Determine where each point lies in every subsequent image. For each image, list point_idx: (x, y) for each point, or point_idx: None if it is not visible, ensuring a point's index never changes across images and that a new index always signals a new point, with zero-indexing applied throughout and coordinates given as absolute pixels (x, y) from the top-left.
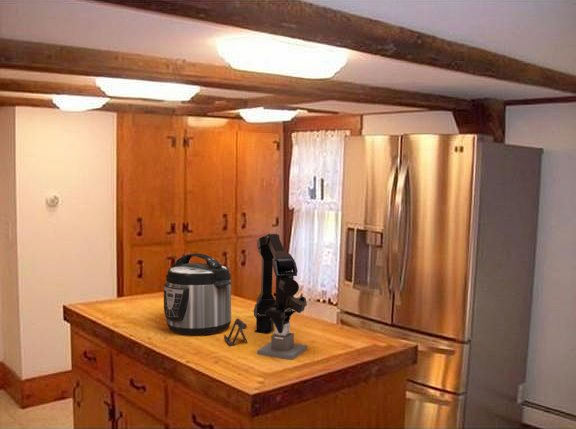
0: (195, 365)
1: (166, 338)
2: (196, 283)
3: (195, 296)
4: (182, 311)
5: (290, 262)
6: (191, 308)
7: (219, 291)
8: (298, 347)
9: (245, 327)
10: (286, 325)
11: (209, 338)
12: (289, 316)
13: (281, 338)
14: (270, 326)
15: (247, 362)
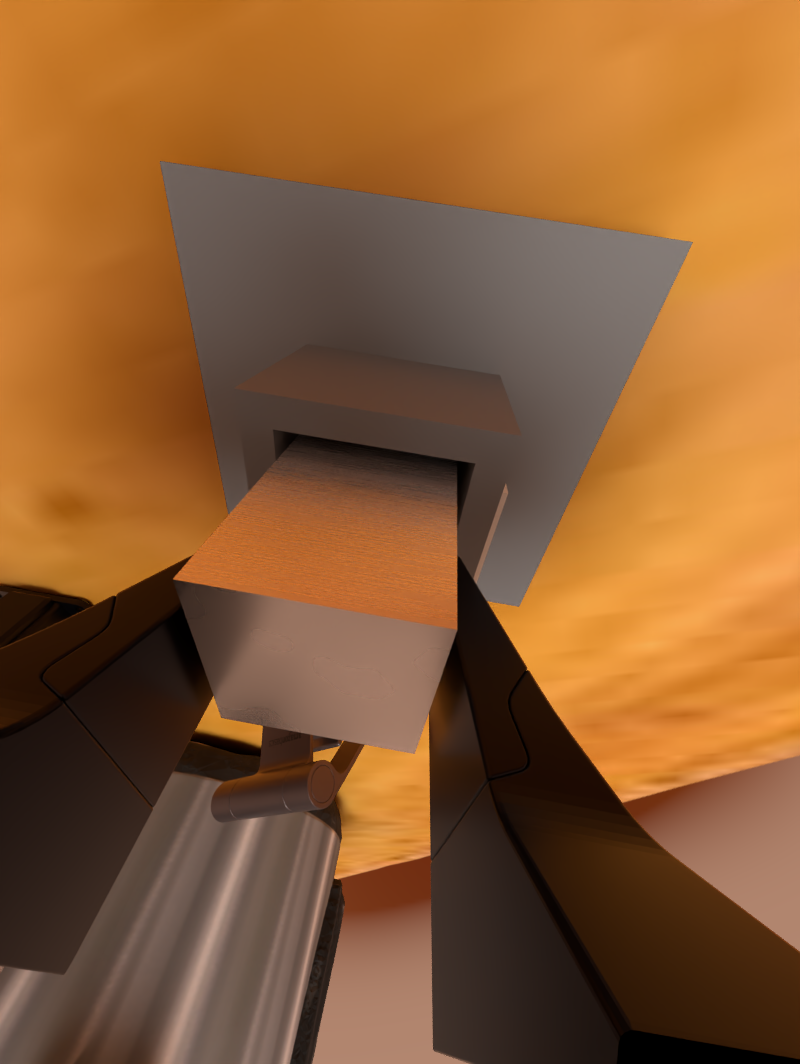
0: (733, 762)
1: (390, 822)
2: None
3: (277, 1054)
4: (332, 939)
5: None
6: (308, 952)
7: None
8: (312, 267)
9: (317, 770)
10: (406, 589)
11: (328, 757)
12: (30, 724)
13: (499, 506)
14: (24, 626)
15: (711, 602)
